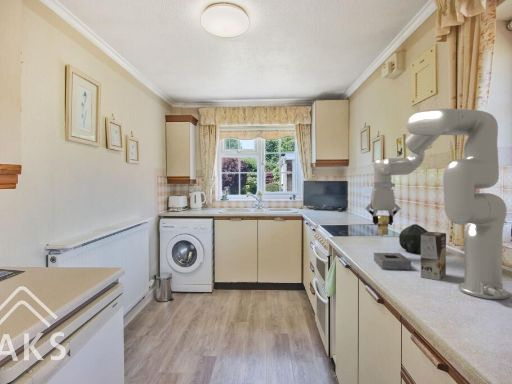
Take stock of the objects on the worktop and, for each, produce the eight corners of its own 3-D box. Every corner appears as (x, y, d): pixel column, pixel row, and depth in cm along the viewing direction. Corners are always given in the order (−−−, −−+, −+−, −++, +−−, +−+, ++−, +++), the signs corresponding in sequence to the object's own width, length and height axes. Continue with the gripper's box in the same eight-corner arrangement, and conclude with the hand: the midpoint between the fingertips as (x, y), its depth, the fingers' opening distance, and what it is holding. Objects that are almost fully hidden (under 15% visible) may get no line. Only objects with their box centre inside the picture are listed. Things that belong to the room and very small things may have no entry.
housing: (411, 270, 120) (411, 261, 120) (382, 269, 122) (382, 260, 121) (399, 260, 134) (399, 253, 134) (373, 260, 135) (373, 252, 135)
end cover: (391, 235, 137) (391, 216, 136) (377, 235, 138) (377, 216, 137) (387, 232, 143) (387, 215, 142) (374, 232, 144) (374, 215, 143)
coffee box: (439, 280, 107) (439, 236, 106) (420, 277, 111) (420, 234, 111) (446, 274, 113) (446, 232, 113) (427, 271, 118) (427, 231, 117)
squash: (418, 236, 160) (404, 217, 157) (443, 243, 146) (429, 221, 142) (402, 256, 158) (387, 236, 154) (426, 264, 144) (411, 243, 140)
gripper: (399, 185, 142) (399, 223, 142) (361, 186, 144) (362, 223, 145) (405, 186, 134) (405, 225, 135) (365, 186, 137) (365, 225, 138)
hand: (382, 224), depth 140 cm, fingers closed on end cover, 6 cm apart
